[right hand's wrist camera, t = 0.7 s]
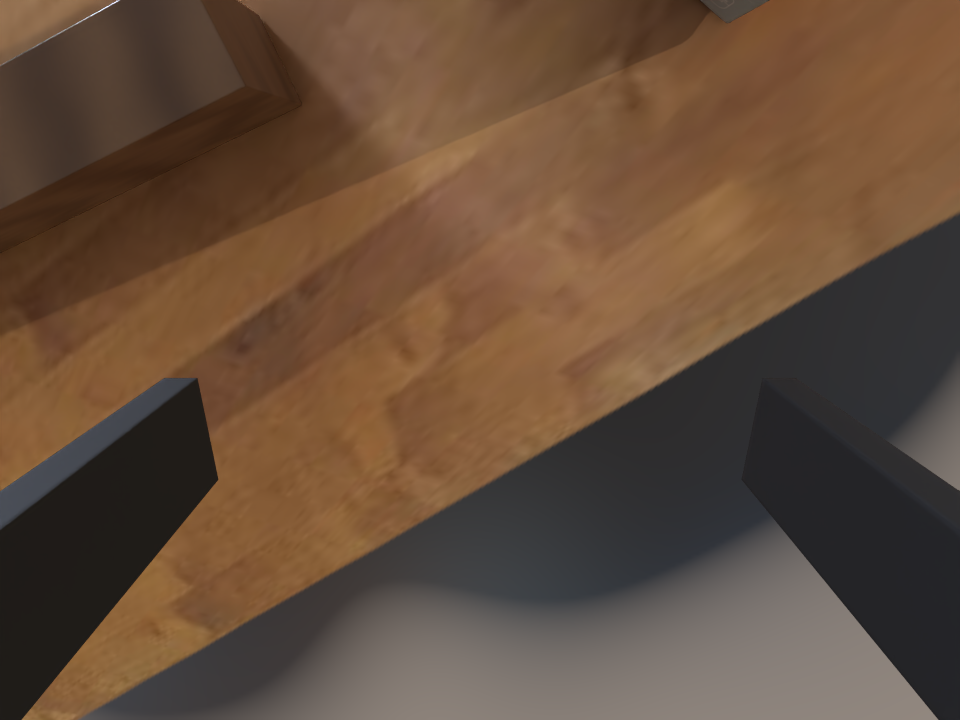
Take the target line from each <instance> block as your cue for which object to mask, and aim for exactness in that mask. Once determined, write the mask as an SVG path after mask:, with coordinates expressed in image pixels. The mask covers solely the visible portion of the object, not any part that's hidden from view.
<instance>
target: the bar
mask: <svg viewBox="0 0 960 720" xmlns="http://www.w3.org/2000/svg"><path fill="white" fill-rule="evenodd" d="M301 105H302V103H301V101H300V99H299V97H298V95H297V93H296V91H295V89H294V87H293V85H292V83H291V81H290V79H289V77H288V75H287V72H286V70H285V68H284V66H283V64H282V62H281V60H280V58H279V56H278V54H277V52H276V50H275V48H274V46H273V44H272V42H271V40H270V38H269V36H268V33H267V31H266V29H265V27H264V25H263V23H262V21H261V19H260V17H259V15H258V14H256V13H255V12H253V11H252V10H250V9H249V8H247V7H246V6H244V5H243V4H241V3H240V2H238V1H237V0H118V1H116V2H114V3H112V4H111V5H109V6H107V7H105V8H103V9H102V10H100V11H98V12H96V13H94V14H92V15H91V16H89V17H87V18H85V19H83V20H82V21H80V22H78V23H76V24H74V25H73V26H71V27H69V28H67V29H65V30H63V31H62V32H60V33H58V34H56V35H54V36H53V37H51V38H49V39H47V40H45V41H43V42H42V43H40V44H38V45H36V46H34V47H33V48H31V49H29V50H27V51H25V52H24V53H22V54H20V55H18V56H16V57H14V58H13V59H11V60H9V61H7V62H5V63H4V64H2V65H0V253H1V252H3V251H5V250H7V249H9V248H11V247H13V246H15V245H18V244H20V243H22V242H24V241H26V240H28V239H30V238H32V237H34V236H36V235H38V234H40V233H42V232H44V231H46V230H48V229H50V228H52V227H54V226H56V225H58V224H60V223H62V222H64V221H66V220H68V219H71V218H73V217H75V216H77V215H79V214H81V213H83V212H85V211H87V210H89V209H91V208H93V207H95V206H97V205H99V204H101V203H103V202H105V201H107V200H109V199H111V198H113V197H115V196H117V195H119V194H122V193H124V192H126V191H128V190H130V189H132V188H134V187H136V186H138V185H140V184H142V183H144V182H146V181H148V180H150V179H152V178H154V177H156V176H158V175H160V174H162V173H164V172H166V171H168V170H170V169H173V168H175V167H177V166H179V165H181V164H183V163H185V162H187V161H189V160H191V159H193V158H195V157H197V156H199V155H201V154H203V153H205V152H207V151H209V150H211V149H213V148H215V147H217V146H219V145H221V144H224V143H226V142H228V141H230V140H232V139H234V138H236V137H238V136H240V135H242V134H244V133H246V132H248V131H250V130H252V129H254V128H256V127H258V126H260V125H262V124H264V123H266V122H268V121H270V120H272V119H274V118H277V117H279V116H281V115H283V114H285V113H287V112H289V111H291V110H293V109H295V108H297V107H299V106H301Z"/></svg>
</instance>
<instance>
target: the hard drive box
mask: <svg viewBox="0 0 960 720" xmlns="http://www.w3.org/2000/svg"><path fill="white" fill-rule="evenodd" d="M700 1H702V2H703V3H704V4H705V5H706V6H707V7H708V8H709V9H711V10H712V11H713V12H714V13H715V14H716V15H717V16H719V17H720V18H721V19H722V20H723V21H725V22H726V23H730V22H731V21H733V20H735V19H737V18H739V17H741V16H742V15H744V14H746V13H748V12H750V11H751V10H753V9H755V8H756V7H759V6H760V5H762V4H764V3H765V2H767V1H769V0H700Z"/></svg>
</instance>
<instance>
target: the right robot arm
mask: <svg viewBox="0 0 960 720" xmlns="http://www.w3.org/2000/svg"><path fill="white" fill-rule="evenodd" d="M217 481H218V476H217V471H216V466H215V461H214V456H213V451H212V447H211V442H210V437H209V432H208V427H207V422H206V418H205V413H204V408H203V403H202V398H201V393H200V388H199V384H198V379H197V378H164V379H162V380H161V381H160V382H158V383H157V384H155V385H154V386H152V387H151V388H149V389H148V390H146V391H145V392H144V393H142V394H141V395H139V396H138V397H136V398H135V399H133V400H132V401H131V402H129V403H128V404H126V405H125V406H123V407H122V408H120V409H119V410H117V411H116V412H115V413H113V414H112V415H110V416H109V417H107V418H106V419H104V420H103V421H102V422H100V423H99V424H97V425H96V426H94V427H93V428H91V429H90V430H89V431H87V432H86V433H84V434H83V435H81V436H80V437H78V438H77V439H75V440H74V441H73V442H71V443H70V444H68V445H67V446H65V447H64V448H62V449H61V450H60V451H58V452H57V453H55V454H54V455H52V456H51V457H49V458H48V459H46V460H45V461H44V462H42V463H41V464H39V465H38V466H36V467H35V468H33V469H32V470H31V471H29V472H28V473H26V474H25V475H23V476H22V477H20V478H19V479H17V480H16V481H15V482H13V483H12V484H10V485H9V486H7V487H6V488H4V489H3V490H2V491H0V720H22V718H23V717H24V716H25V715H26V714H27V712H28V711H29V710H30V709H31V707H32V706H33V705H34V704H35V703H36V701H37V700H38V699H39V698H40V696H41V695H42V694H43V693H44V692H45V690H46V689H47V688H48V687H49V686H50V684H51V683H52V682H53V681H54V679H55V678H56V677H57V676H58V675H59V673H60V672H61V671H62V670H63V668H64V667H65V666H66V665H67V664H68V662H69V661H70V660H71V659H72V657H73V656H74V655H75V654H76V653H77V651H78V650H79V649H80V648H81V646H82V645H83V644H84V643H85V642H86V640H87V639H88V638H89V637H90V635H91V634H92V633H93V632H94V631H95V629H96V628H97V627H98V626H99V625H100V623H101V622H102V621H103V620H104V618H105V617H106V616H107V615H108V614H109V612H110V611H111V610H112V609H113V607H114V606H115V605H116V604H117V603H118V601H119V600H120V599H121V598H122V596H123V595H124V594H125V593H126V592H127V590H128V589H129V588H130V587H131V585H132V584H133V583H134V582H135V581H136V579H137V578H138V577H139V576H140V575H141V573H142V572H143V571H144V570H145V568H146V567H147V566H148V565H149V564H150V562H151V561H152V560H153V559H154V557H155V556H156V555H157V554H158V553H159V551H160V550H161V549H162V548H163V546H164V545H165V544H166V543H167V542H168V540H169V539H170V538H171V537H172V535H173V534H174V533H175V532H176V531H177V529H178V528H179V527H180V526H181V524H182V523H183V522H184V521H185V520H186V518H187V517H188V516H189V515H190V514H191V512H192V511H193V510H194V509H195V507H196V506H197V505H198V504H199V503H200V501H201V500H202V499H203V498H204V496H205V495H206V494H207V493H208V492H209V490H210V489H211V488H212V487H213V485H214V484H215V483H216V482H217ZM742 481H743V482H744V483H745V484H746V485H747V487H748V488H749V489H750V490H751V492H752V493H753V494H754V495H755V496H756V498H757V499H758V500H759V501H760V502H761V504H762V505H763V506H764V507H765V509H766V510H767V511H768V512H769V514H770V515H771V516H772V517H773V518H774V520H775V521H776V522H777V523H778V524H779V526H780V527H781V528H782V529H783V531H784V532H785V533H786V534H787V535H788V537H789V538H790V539H791V540H792V542H793V543H794V544H795V545H796V546H797V548H798V549H799V550H800V551H801V553H802V554H803V555H804V556H805V557H806V559H807V560H808V561H809V562H810V563H811V565H812V566H813V567H814V568H815V570H816V571H817V572H818V573H819V575H820V576H821V577H822V578H823V579H824V581H825V582H826V583H827V584H828V585H829V587H830V588H831V589H832V590H833V592H834V593H835V594H836V595H837V596H838V598H839V599H840V600H841V601H842V603H843V604H844V605H845V606H846V607H847V609H848V610H849V611H850V612H851V614H852V615H853V616H854V617H855V618H856V620H857V621H858V622H859V623H860V624H861V626H862V627H863V628H864V629H865V631H866V632H867V633H868V634H869V635H870V637H871V638H872V639H873V640H874V642H875V643H876V644H877V645H878V646H879V648H880V649H881V650H882V651H883V653H884V654H885V655H886V656H887V657H888V659H889V660H890V661H891V662H892V664H893V665H894V666H895V667H896V668H897V670H898V671H899V672H900V673H901V675H902V676H903V677H904V678H905V679H906V681H907V682H908V683H909V684H910V686H911V687H912V688H913V689H914V690H915V692H916V693H917V694H918V695H919V696H920V698H921V699H922V700H923V701H924V703H925V704H926V705H927V706H928V707H929V709H930V710H931V711H932V712H933V714H934V715H935V716H936V717H937V718H938V720H960V491H959V490H957V489H955V488H954V487H953V486H951V485H950V484H948V483H947V482H945V481H944V480H942V479H941V478H940V477H938V476H937V475H935V474H934V473H932V472H931V471H929V470H928V469H927V468H925V467H924V466H922V465H921V464H919V463H918V462H916V461H915V460H913V459H912V458H911V457H909V456H908V455H906V454H905V453H903V452H902V451H900V450H899V449H898V448H896V447H895V446H893V445H892V444H890V443H889V442H887V441H886V440H885V439H883V438H882V437H880V436H879V435H877V434H876V433H874V432H873V431H871V430H870V429H869V428H867V427H866V426H864V425H863V424H861V423H860V422H858V421H857V420H855V419H854V418H853V417H851V416H850V415H848V414H847V413H845V412H844V411H842V410H841V409H840V408H838V407H837V406H835V405H834V404H832V403H831V402H829V401H828V400H827V399H825V398H824V397H822V396H821V395H819V394H818V393H816V392H815V391H814V390H812V389H811V388H809V387H808V386H806V385H805V384H803V383H802V382H800V381H799V380H798V379H796V378H763V379H762V384H761V388H760V393H759V398H758V403H757V408H756V413H755V418H754V422H753V427H752V432H751V437H750V442H749V447H748V452H747V456H746V461H745V466H744V471H743V476H742Z"/></svg>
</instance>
